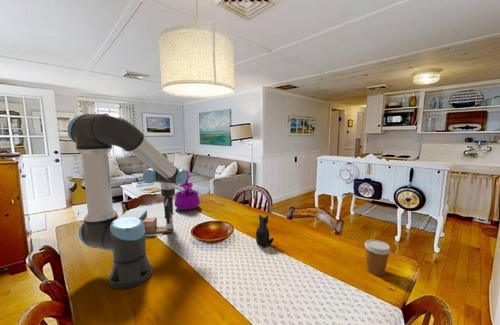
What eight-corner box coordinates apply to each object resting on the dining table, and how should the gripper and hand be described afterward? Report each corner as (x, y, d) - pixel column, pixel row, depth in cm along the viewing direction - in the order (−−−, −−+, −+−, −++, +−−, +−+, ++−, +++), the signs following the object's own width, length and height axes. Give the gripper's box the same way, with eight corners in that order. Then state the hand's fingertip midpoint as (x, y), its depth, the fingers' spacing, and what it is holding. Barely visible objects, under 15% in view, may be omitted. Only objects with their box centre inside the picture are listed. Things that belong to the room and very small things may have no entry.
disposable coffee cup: (388, 281, 89) (390, 252, 88) (361, 273, 94) (363, 246, 93) (388, 269, 97) (391, 242, 96) (364, 262, 102) (365, 237, 101)
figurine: (274, 241, 123) (275, 214, 121) (272, 250, 113) (273, 221, 111) (257, 239, 124) (257, 213, 123) (253, 248, 115) (253, 219, 113)
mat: (162, 235, 129) (162, 235, 129) (143, 236, 127) (143, 235, 127) (166, 227, 140) (166, 227, 140) (149, 228, 138) (149, 227, 138)
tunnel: (167, 236, 128) (166, 217, 126) (104, 239, 123) (102, 219, 122) (172, 226, 141) (171, 209, 140) (115, 229, 137) (114, 211, 136)
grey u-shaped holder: (171, 232, 131) (170, 215, 130) (142, 233, 129) (141, 216, 128) (173, 227, 138) (172, 211, 137) (146, 228, 136) (145, 212, 135)
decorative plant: (186, 214, 163) (184, 173, 159) (169, 209, 173) (167, 170, 169) (204, 207, 178) (204, 169, 174) (188, 203, 188) (187, 167, 184)
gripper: (171, 191, 124) (173, 232, 127) (177, 185, 140) (178, 221, 143) (157, 192, 123) (159, 233, 126) (164, 185, 139) (166, 222, 142)
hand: (169, 227), depth 134 cm, fingers closed on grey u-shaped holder, 3 cm apart
